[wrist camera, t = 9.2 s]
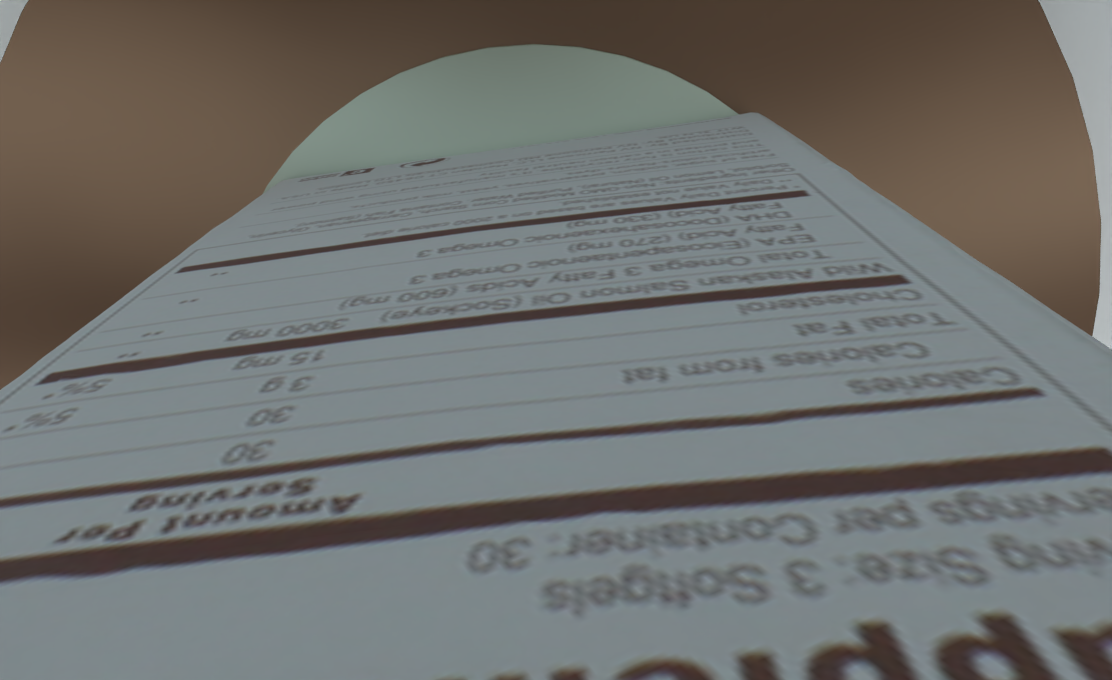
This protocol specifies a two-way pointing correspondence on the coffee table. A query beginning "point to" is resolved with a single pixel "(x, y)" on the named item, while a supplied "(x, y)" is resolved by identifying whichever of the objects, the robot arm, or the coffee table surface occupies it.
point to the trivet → (513, 118)
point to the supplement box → (565, 437)
